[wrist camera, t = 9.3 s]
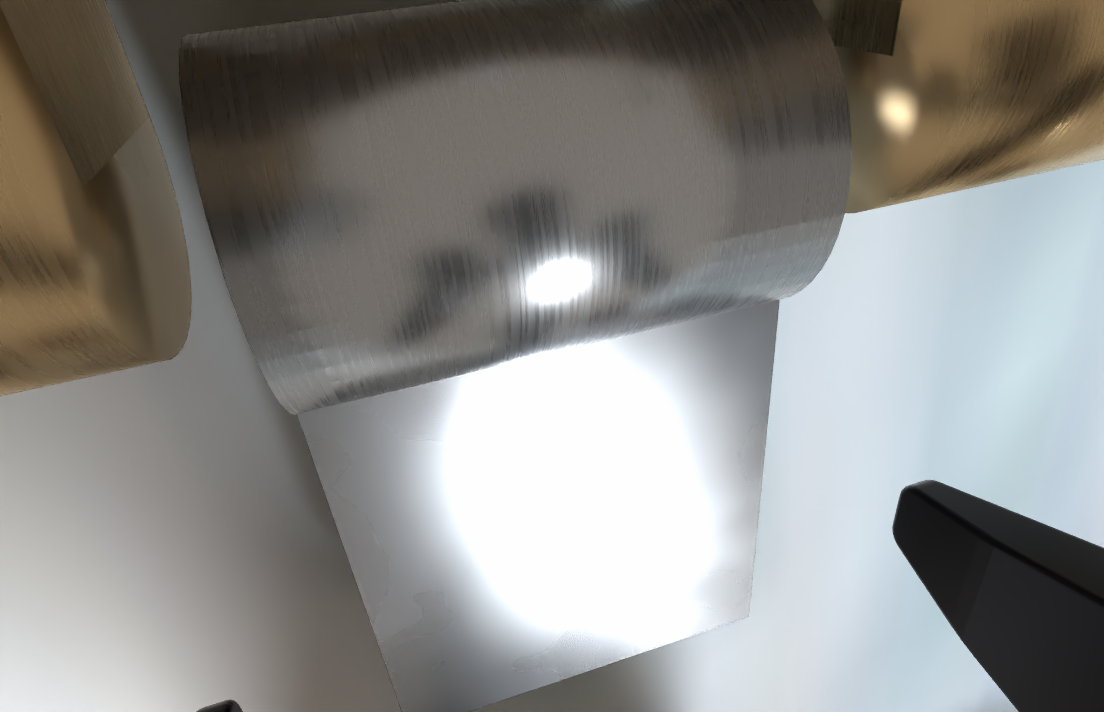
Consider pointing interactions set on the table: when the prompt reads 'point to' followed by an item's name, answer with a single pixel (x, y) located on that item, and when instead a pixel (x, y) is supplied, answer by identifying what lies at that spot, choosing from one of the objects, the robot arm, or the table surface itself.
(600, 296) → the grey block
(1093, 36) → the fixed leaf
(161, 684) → the table surface
